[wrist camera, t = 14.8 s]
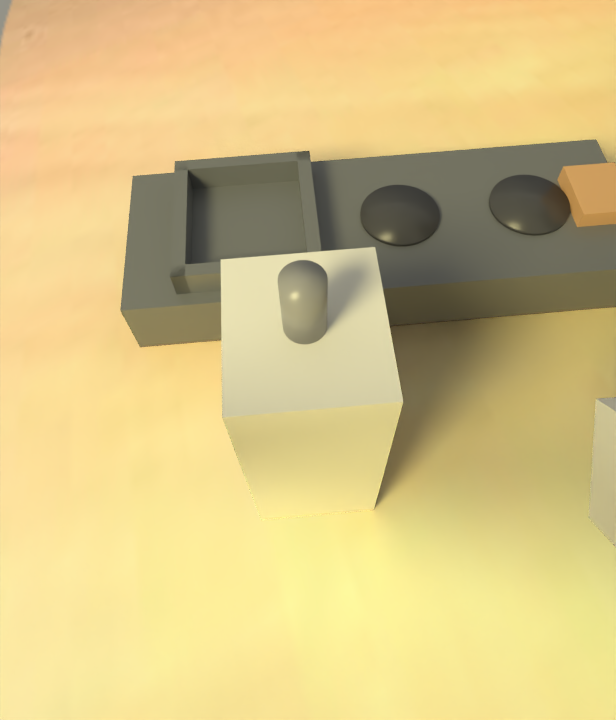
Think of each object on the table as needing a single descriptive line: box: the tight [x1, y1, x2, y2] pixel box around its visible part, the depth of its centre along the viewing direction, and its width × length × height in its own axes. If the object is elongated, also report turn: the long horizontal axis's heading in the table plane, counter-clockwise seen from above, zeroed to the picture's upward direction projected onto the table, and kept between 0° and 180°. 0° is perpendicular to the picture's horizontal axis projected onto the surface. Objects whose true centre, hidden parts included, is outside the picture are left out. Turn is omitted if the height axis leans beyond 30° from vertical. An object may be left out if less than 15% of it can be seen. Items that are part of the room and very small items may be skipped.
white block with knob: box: [221, 247, 403, 520], centre depth 19 cm, size 4×5×12 cm
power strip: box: [121, 140, 616, 347], centre depth 27 cm, size 23×8×4 cm, turn 95°
